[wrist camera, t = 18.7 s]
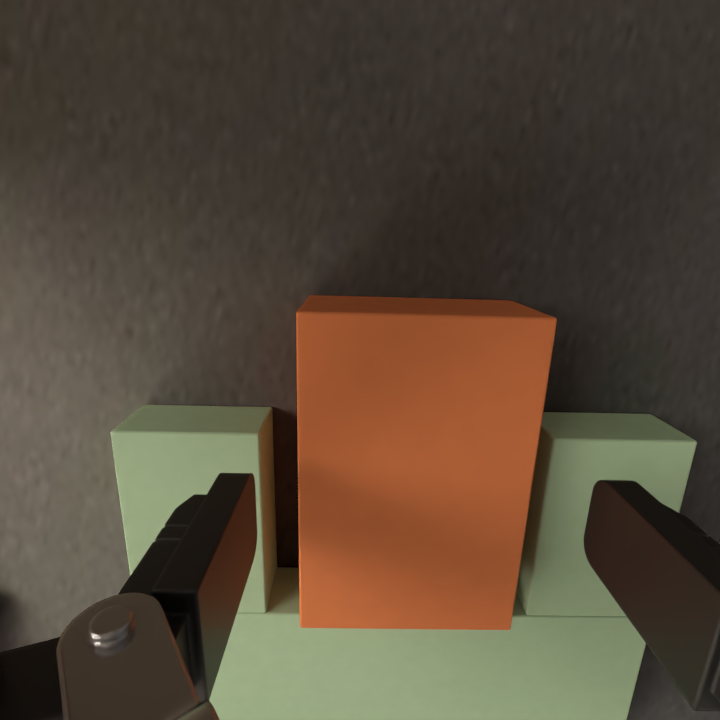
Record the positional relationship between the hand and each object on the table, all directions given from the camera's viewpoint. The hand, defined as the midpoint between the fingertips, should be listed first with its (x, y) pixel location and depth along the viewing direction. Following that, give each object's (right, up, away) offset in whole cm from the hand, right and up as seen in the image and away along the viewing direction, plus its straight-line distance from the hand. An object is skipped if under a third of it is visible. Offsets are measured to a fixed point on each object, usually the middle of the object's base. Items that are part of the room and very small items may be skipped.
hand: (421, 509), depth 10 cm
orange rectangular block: (0, +1, +4) cm, 4 cm away
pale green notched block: (0, -5, +5) cm, 7 cm away
